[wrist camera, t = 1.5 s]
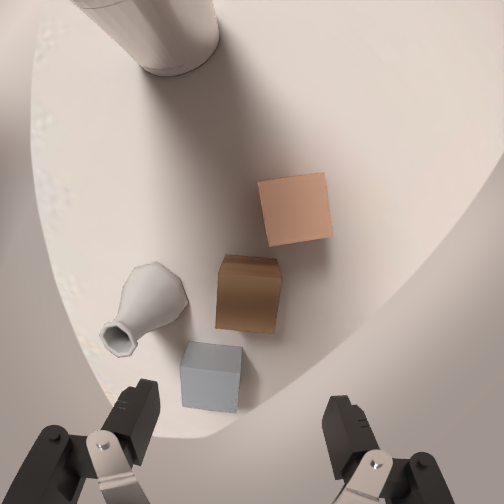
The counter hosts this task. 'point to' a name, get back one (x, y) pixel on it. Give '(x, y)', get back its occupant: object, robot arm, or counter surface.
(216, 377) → the grey base block
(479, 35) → the counter surface
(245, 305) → the walnut cube
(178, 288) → the flask
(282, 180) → the terracotta cube
